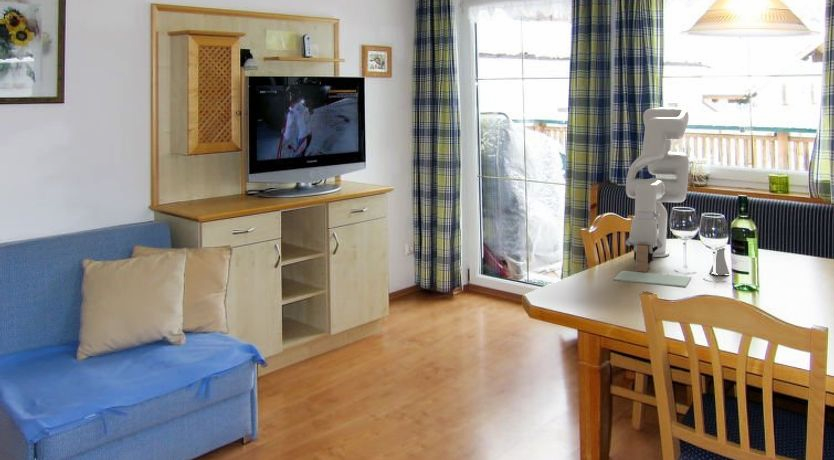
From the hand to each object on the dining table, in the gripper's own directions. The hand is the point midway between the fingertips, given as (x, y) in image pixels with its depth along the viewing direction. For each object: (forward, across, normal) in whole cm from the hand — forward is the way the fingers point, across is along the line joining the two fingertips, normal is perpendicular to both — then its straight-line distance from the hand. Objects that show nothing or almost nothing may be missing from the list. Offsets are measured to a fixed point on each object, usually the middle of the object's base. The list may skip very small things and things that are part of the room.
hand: (643, 261), depth 291 cm
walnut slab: (+3, 0, 0) cm, 3 cm away
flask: (+3, -27, -4) cm, 27 cm away
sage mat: (+3, -6, +13) cm, 15 cm away
